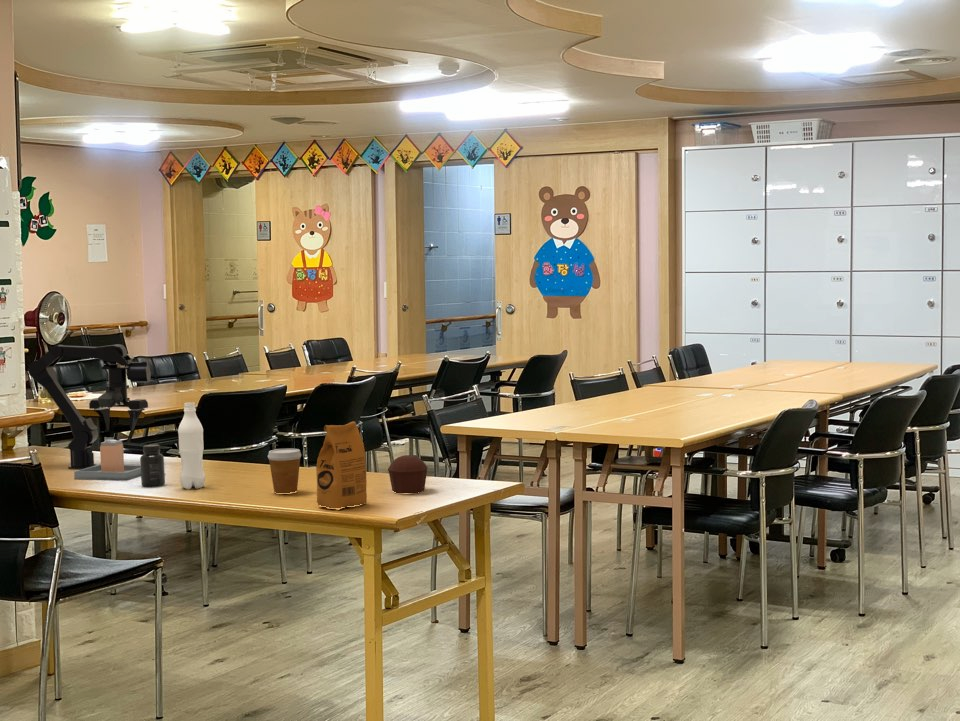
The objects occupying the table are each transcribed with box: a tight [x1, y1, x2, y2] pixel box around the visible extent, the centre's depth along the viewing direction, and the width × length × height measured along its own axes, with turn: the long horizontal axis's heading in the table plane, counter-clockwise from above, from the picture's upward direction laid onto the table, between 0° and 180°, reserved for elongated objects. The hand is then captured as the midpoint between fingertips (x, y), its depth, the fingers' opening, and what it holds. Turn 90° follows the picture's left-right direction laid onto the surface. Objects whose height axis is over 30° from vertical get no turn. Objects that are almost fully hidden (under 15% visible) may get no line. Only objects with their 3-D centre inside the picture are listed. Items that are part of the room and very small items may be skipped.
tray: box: [73, 463, 141, 481], centre depth 369 cm, size 18×14×2 cm
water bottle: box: [177, 401, 206, 490], centre depth 344 cm, size 7×7×25 cm
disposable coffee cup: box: [267, 448, 302, 493], centre depth 333 cm, size 10×10×12 cm
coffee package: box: [315, 421, 368, 508], centre depth 311 cm, size 10×12×22 cm
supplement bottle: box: [139, 444, 166, 488], centre depth 350 cm, size 7×7×12 cm
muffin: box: [387, 454, 429, 494], centre depth 331 cm, size 12×11×10 cm
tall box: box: [99, 440, 125, 472], centre depth 369 cm, size 5×5×10 cm
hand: (119, 430), depth 387 cm, fingers open, 9 cm apart
